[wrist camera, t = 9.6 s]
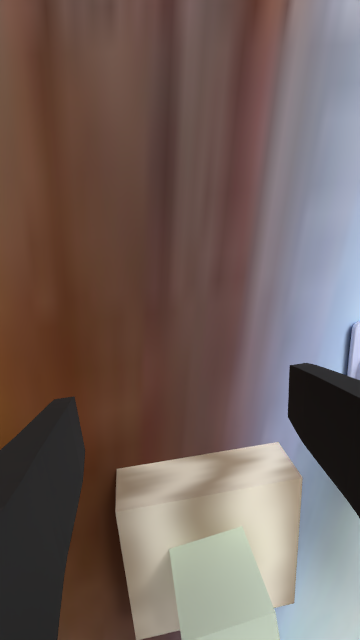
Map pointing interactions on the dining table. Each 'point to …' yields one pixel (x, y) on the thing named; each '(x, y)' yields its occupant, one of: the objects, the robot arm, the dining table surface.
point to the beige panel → (206, 522)
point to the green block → (221, 590)
